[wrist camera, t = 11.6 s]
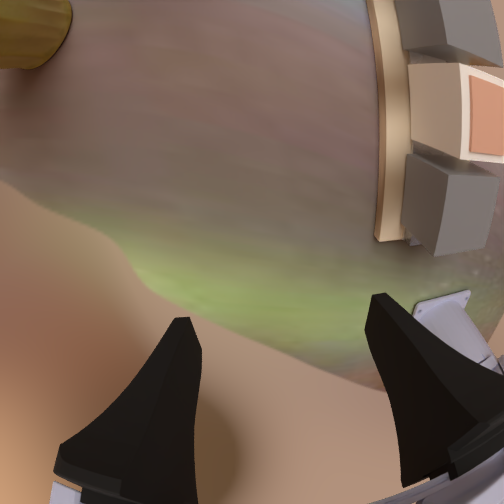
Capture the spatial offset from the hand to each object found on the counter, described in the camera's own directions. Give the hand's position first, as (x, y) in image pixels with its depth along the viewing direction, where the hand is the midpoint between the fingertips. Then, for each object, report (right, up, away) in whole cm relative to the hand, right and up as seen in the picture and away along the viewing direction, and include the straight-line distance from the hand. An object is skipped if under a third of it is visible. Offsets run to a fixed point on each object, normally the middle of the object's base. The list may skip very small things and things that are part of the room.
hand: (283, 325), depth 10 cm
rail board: (+11, +13, +3) cm, 17 cm away
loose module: (+11, +12, +2) cm, 17 cm away
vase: (-16, +19, -1) cm, 25 cm away
